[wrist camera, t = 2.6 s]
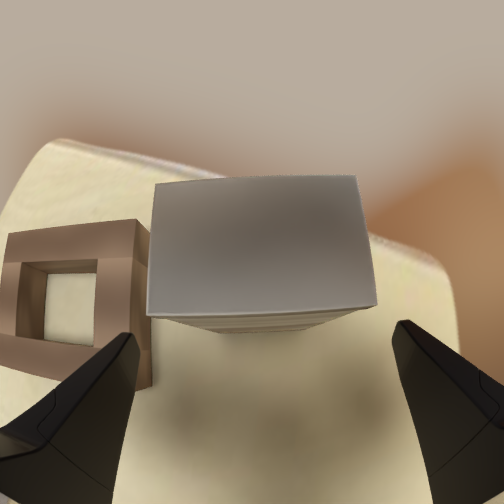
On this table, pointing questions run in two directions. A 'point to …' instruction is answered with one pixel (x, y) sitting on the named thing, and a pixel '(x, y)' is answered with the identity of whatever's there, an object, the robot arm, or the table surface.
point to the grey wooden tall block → (259, 252)
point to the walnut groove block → (106, 294)
